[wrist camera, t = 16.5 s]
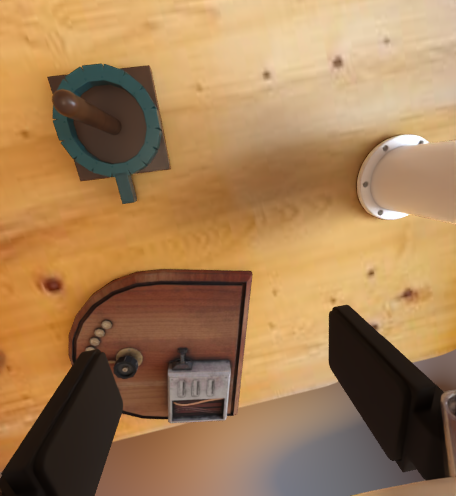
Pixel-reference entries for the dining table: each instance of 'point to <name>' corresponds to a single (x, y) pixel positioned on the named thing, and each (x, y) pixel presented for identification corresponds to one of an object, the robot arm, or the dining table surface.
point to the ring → (67, 134)
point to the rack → (110, 121)
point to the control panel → (170, 341)
